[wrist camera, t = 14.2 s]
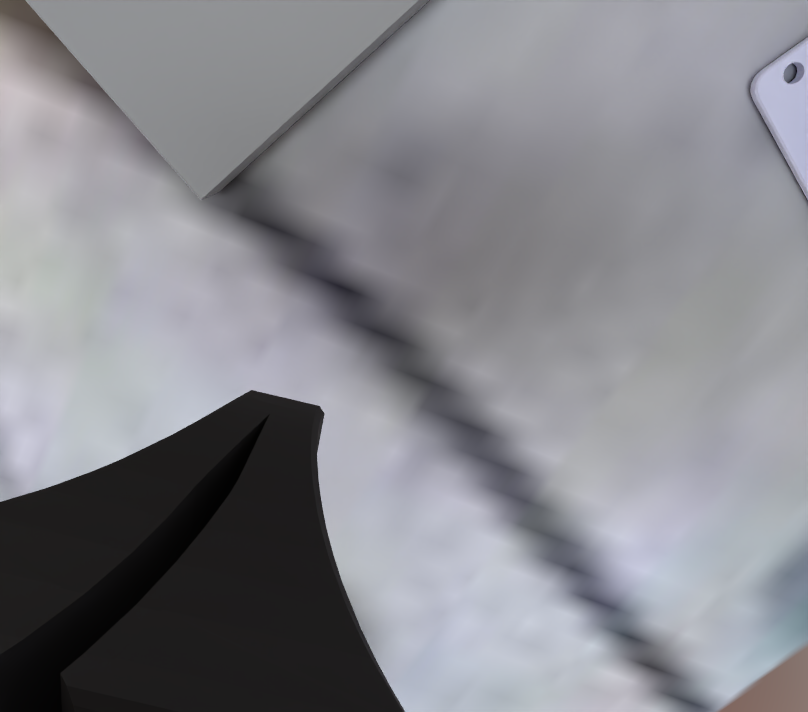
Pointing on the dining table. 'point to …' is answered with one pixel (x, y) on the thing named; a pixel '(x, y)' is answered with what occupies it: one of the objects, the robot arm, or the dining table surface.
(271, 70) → the base plate
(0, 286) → the dining table surface
